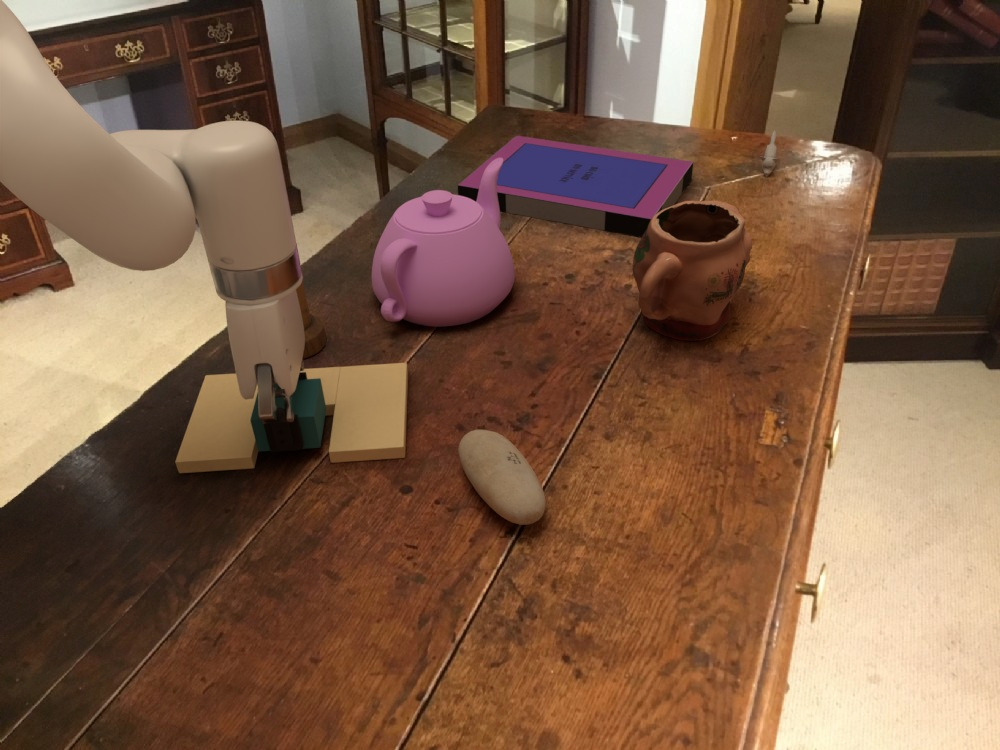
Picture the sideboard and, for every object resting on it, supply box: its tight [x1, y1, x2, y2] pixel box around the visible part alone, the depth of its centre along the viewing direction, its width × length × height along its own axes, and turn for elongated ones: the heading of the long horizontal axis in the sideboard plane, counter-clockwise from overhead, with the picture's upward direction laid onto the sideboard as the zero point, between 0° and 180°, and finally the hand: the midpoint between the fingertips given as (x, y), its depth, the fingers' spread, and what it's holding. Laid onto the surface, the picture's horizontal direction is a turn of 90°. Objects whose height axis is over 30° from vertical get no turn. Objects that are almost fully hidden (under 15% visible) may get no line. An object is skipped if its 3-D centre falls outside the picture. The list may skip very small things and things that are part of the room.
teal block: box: [250, 378, 326, 452], centre depth 84 cm, size 6×6×4 cm
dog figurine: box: [758, 130, 781, 178], centre depth 134 cm, size 3×8×6 cm
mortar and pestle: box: [296, 279, 327, 360], centre depth 94 cm, size 7×6×18 cm
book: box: [457, 135, 694, 238], centre depth 130 cm, size 21×3×30 cm
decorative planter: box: [632, 200, 753, 342], centre depth 96 cm, size 20×12×14 cm, turn 147°
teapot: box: [371, 158, 516, 328], centre depth 104 cm, size 25×18×14 cm
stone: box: [458, 429, 547, 526], centre depth 78 cm, size 6×6×12 cm
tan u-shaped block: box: [174, 362, 409, 474], centre depth 88 cm, size 22×14×2 cm, turn 94°
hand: (291, 425), depth 85 cm, fingers closed on teal block, 5 cm apart
